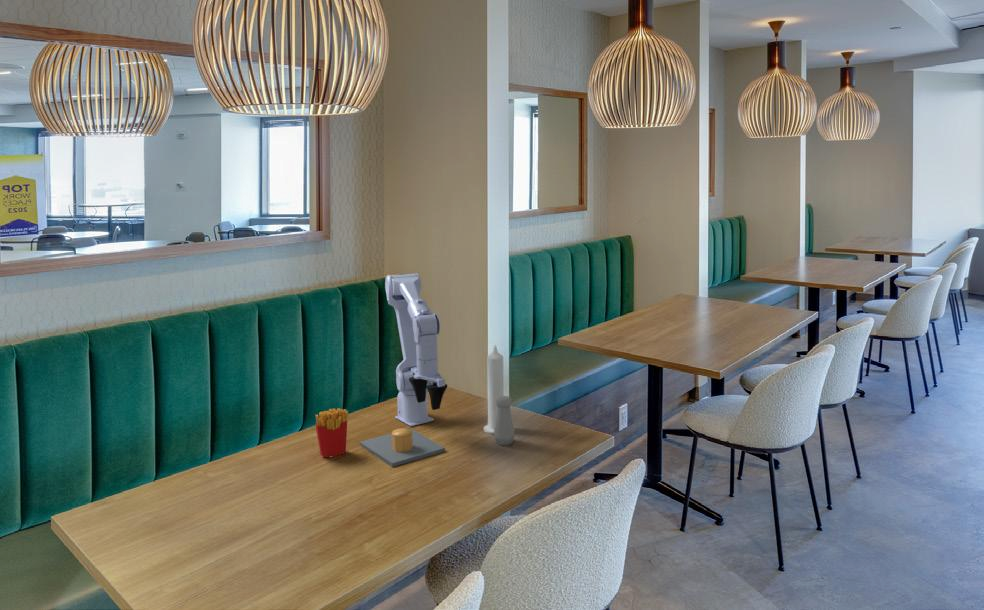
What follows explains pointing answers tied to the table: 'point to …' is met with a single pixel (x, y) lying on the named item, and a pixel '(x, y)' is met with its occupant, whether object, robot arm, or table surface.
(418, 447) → the board
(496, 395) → the candle
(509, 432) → the salt shaker
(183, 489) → the table surface
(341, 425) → the french fries
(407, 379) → the robot arm
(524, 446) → the table surface
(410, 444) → the cap
